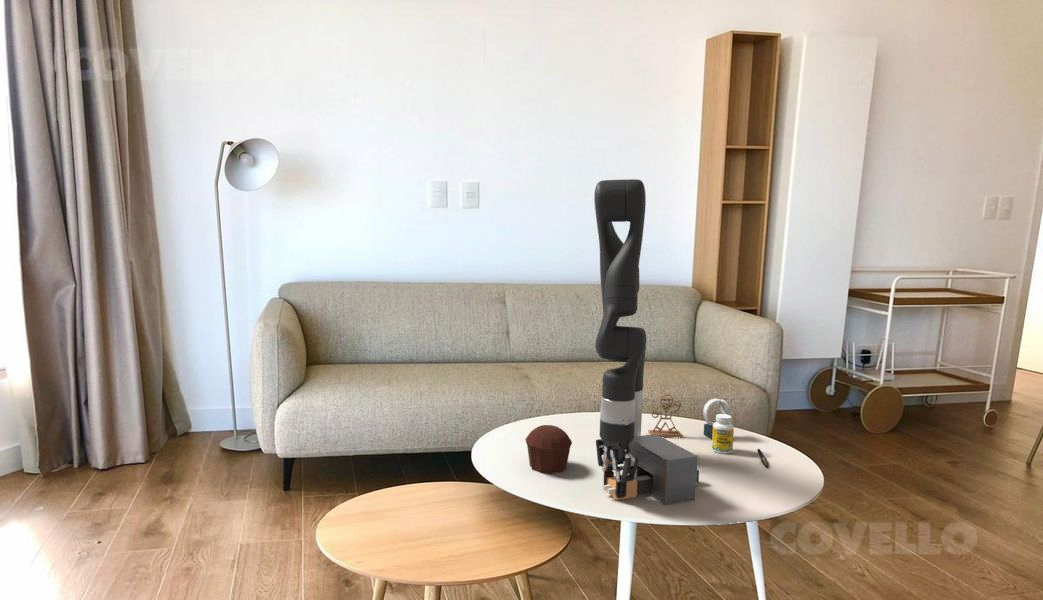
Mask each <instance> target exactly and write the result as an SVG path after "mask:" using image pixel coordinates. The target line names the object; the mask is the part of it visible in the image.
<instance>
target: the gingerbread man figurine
mask: <svg viewBox="0 0 1043 600" xmlns="http://www.w3.org/2000/svg"><path fill="white" fill-rule="evenodd" d="M666 396H668V397H669V398H666ZM664 397H665V398H664ZM666 401H667V403H665V402H666ZM677 403H679V404H677ZM660 404H661V405H657V406H655V407H654V408H653V409H652V411H651V416H652V418H654V419H656V418H659V417H660V418H659V420H658V421H657V423H656V425H655V426H654V428H653V429H649V430H648V431H647V432H648V433H649V434H650V435H651V434H657V435H659V436H661V437H678V438H677V439H682V438H683V435H682V433H681V431H679V430H677V428H676V426H675V424H674V422H673V420H672V414H675V413H677V412H678V411H679V410H680V409H681V407H682V402H680V401H679V400H674V397H673V396H672V395H671V394H670V393H669V394H668V393H666V394H665V393H664V394H663V395H662V396H661V397H660ZM674 407H677V409H676V410H674V411H670V412H669V417H668V414H667V413H668V411H669V410H671V409H670V408H674ZM659 408H662V409H663V410H664V412H665V414H664V417H662V416H663V411H661V410H660V411H657V412H656V409H659ZM662 420H664V423H663V424H662V426H661V427H659V425H660V423H661V421H662ZM665 420H670V422H671V424H672V425H673V426H672V427H671V428H669V425H668V424H667V421H665ZM665 426H666V427H667V429H668V430H666V429H664V427H665ZM663 429H664V430H663ZM648 433H647V434H648ZM649 434H648V435H649ZM679 437H680V438H679Z"/></svg>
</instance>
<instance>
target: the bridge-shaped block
mask: <svg viewBox="0 0 1043 600" xmlns="http://www.w3.org/2000/svg"><path fill="white" fill-rule="evenodd" d="M629 448H630V454H631V455H632V456H633V457H637V458H638V463H637V467H636V472H635V476H634V477H640V476H646V475H653V490H652V491H651V492H652V493H651V497H652V498H653V499H654V500H656V501H658V502H659V503H661V504H662V505H663V506H667V505H669V506H670V505H674V504H680V503H685V502H691V501H696V492H697V483H696V479H697V469H698V459H699V456H698V455H696V453H695V454H694V453H693V452H691V451H689V450H687V449H685V448H683V447H681V446H680V445H677V444H676V443H673V441H669V440H668V439H667V438H662V437H661V436H659V435H657V434H651V435H649V434H644V435H643V434H642V435H641V436H635V437H634V439H633V440H632V441H631V442H630V444H629ZM628 474H630V473H628Z"/></svg>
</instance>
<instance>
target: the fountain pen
mask: <svg viewBox="0 0 1043 600" xmlns="http://www.w3.org/2000/svg"><path fill="white" fill-rule="evenodd" d="M756 450H757V453H758V456H759V458H760V461H761V463H762V464H763V466H764V467H765V468H766V469H767V468H769V463H768V461H767V459H766V457H765V456H764V453H763V452H762V451H761V448H757V449H756Z"/></svg>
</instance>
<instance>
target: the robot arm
mask: <svg viewBox="0 0 1043 600" xmlns="http://www.w3.org/2000/svg"><path fill="white" fill-rule="evenodd" d="M593 198H594V199H593V200H594V210H595V211H594V212H595V220H596V227H597V235H598V243H599V245H598V246H599V275H600V288H601V300H602V301H601V302H602V312H603V313H602V314H603V316H602V318H601V323H600V326H599V329H598V332H597V335H596V339H595V344H594V345H595V351H596V353H597V355H598V356H599V357H600V358H601V359H603V360H608V361H611V362H616V363H617V362H619V363H624V364H623V365H622V366H620V367H616V368H610V369H607V370H605V371H604V372H603V374H602V389H601V393H602V394H601V402H600V411H599V412H600V414H599V417H600V418H599V439H595V446H596V457H597V465H598V466H599V467H601V471H602V472H603V485H607V477H613V476H616V479H617V481H616V497H618V498H622V497H625V496H626V488H627V481H633V480H634V476H635V472H636V467H637V463H638V458H637V457H633V456H632V455H631V454H630V448H629V444H630V442H631V441H632V440H633V439H634V437H635V436H642V420H643V419H642V418H643V399H644V398H643V396H644V374H645V370H644V369H645V361H646V360H645V359H646V349H647V333H646V330H645V328H642V327H638V326H622V325H617V324H618V322H619V319H620V318H625V317H630V316H634V315H635V314H636V313H637V311H638V297H639V296H638V294H639V291H640V259H641V253H642V251H641V250H642V246H643V245H642V244H643V237H644V236H643V235H644V226H645V216H646V205H647V204H646V203H647V202H646V199H647V197H646V189H645V185H644V182H643V180H641V179H633V178H632V179H630V178H629V179H607V180H605V179H604V180H599V181H598V182H597V183H596V186H595V189H594V197H593ZM617 222H619V223H623V222H626V223H627V222H629V229H628V233H627V237H626V239H625V241H624V242H623V241H622V240H621V238H620V237H619V235H618V233H617V232H616V229H615V226H614V225H613V223H617ZM614 471H615V472H614ZM621 471H622V473H621ZM628 473H630V474H628ZM621 475H622V476H621Z"/></svg>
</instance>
